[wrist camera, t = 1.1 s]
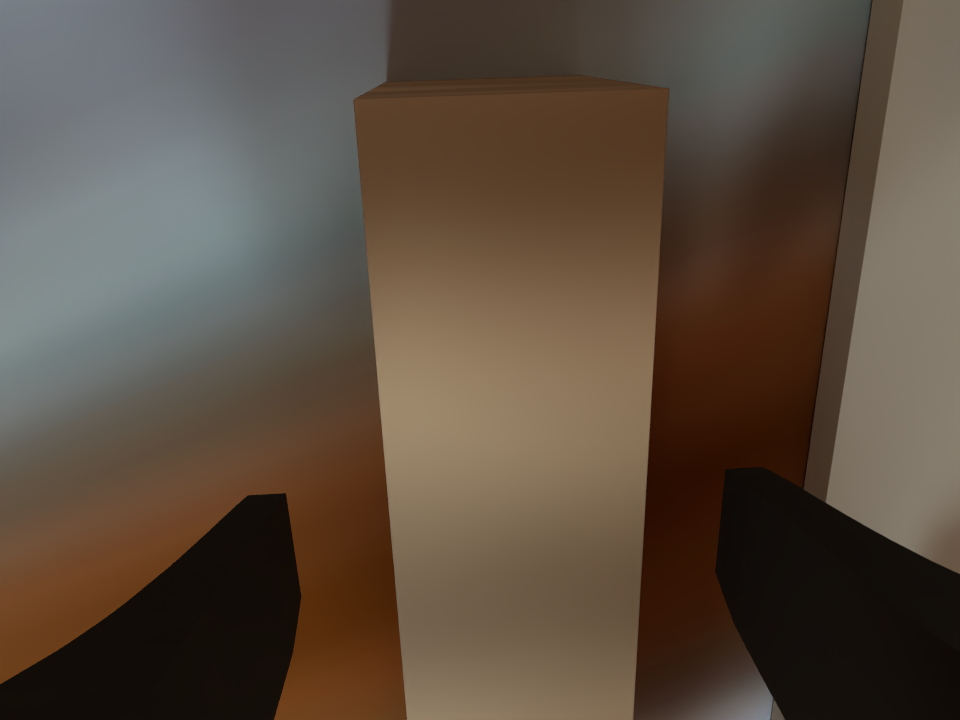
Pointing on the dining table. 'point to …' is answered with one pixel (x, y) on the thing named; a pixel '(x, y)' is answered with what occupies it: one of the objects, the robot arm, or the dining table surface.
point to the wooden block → (515, 382)
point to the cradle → (898, 294)
